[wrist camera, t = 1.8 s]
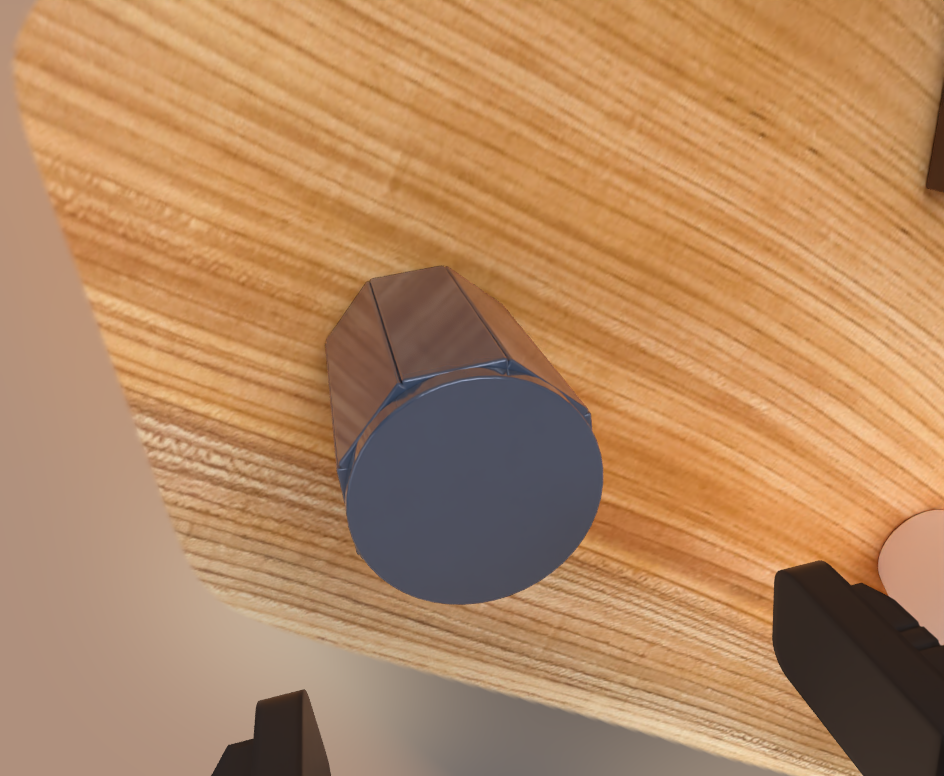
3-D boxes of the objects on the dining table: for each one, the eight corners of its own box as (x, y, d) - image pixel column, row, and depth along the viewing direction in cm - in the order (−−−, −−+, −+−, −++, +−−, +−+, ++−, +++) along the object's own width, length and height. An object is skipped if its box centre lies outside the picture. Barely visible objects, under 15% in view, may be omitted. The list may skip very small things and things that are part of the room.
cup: (294, 384, 25) (292, 541, 17) (400, 233, 24) (451, 324, 16) (441, 466, 27) (501, 640, 19) (544, 333, 26) (654, 457, 18)
